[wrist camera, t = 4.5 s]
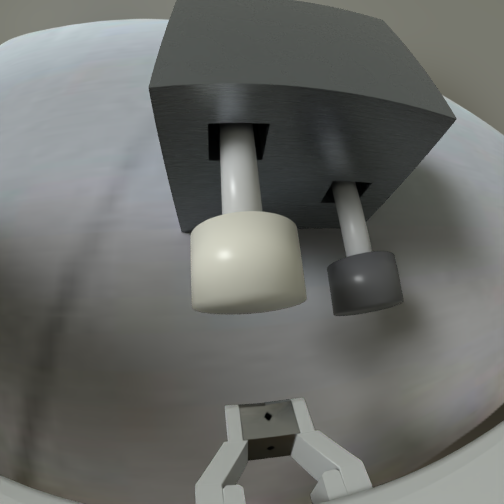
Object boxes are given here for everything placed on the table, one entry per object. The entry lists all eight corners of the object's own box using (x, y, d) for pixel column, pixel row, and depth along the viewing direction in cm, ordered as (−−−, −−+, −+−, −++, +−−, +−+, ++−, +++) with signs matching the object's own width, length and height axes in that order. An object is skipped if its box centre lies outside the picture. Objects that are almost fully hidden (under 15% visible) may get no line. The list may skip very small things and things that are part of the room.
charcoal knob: (381, 311, 20) (417, 296, 16) (323, 318, 19) (351, 305, 15) (355, 190, 23) (379, 157, 19) (303, 189, 23) (320, 152, 19)
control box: (360, 227, 27) (456, 118, 13) (181, 232, 25) (148, 87, 11) (333, 130, 31) (382, 20, 17) (186, 127, 29) (177, -3, 15)
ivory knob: (292, 310, 14) (322, 288, 10) (196, 316, 14) (185, 295, 10) (270, 146, 18) (284, 91, 14) (195, 147, 17) (191, 90, 13)
